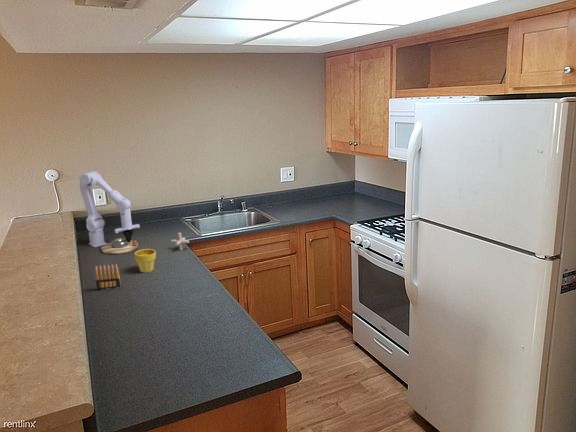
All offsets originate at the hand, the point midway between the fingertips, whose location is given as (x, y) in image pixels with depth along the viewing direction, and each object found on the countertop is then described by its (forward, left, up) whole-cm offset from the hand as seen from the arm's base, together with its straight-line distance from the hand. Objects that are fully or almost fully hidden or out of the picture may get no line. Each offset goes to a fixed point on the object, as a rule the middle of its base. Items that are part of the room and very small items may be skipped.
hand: (129, 241), depth 268 cm
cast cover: (0, -6, -1) cm, 6 cm away
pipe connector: (+28, +18, -3) cm, 34 cm away
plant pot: (+42, -10, -3) cm, 43 cm away
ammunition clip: (+50, -33, -3) cm, 60 cm away
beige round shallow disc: (0, -6, -3) cm, 6 cm away
